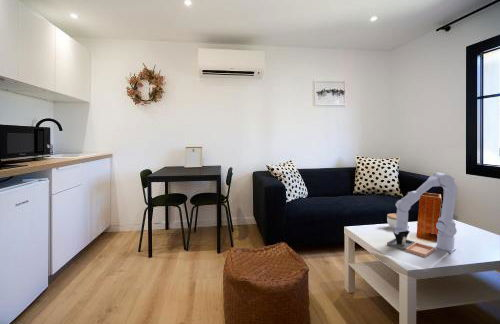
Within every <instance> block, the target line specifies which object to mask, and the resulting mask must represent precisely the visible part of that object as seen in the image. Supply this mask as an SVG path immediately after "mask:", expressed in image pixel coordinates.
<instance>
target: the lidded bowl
mask: <svg viewBox="0 0 500 324" xmlns="http://www.w3.org/2000/svg"><path fill="white" fill-rule="evenodd" d="M386 218H387V219H386V221H387V224H388V226H389V228H391V229H392V230H394V229H395V228H394V226H396V218H397V212H396V213H387V215H386Z"/></svg>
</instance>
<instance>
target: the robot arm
mask: <svg viewBox="0 0 500 324" xmlns="http://www.w3.org/2000/svg"><path fill="white" fill-rule="evenodd" d="M432 187H442V189H444V193H443V198H442V199H443V200H442V205H443V206H442V213H441V217H439V218H438V222H437V223H436V228H437V229H438V233H436V235H437V236H436V238H437V239H436V247H437V248H438V249H439V250H443V251H448V252H447V253H448V254H452V253H453V252H454V251H456V250H457V248H456V247H455V235H456V234H457V231H458V230H457V228H456V222H455V220H454V215H455V207H456V202H457V201H456V200H457V193H458V192H457V191H458V186H457V184H456V182H455V178H454V177H453V176H451V175H450V174H447V173H443V172H439V171H438V172H434V173H433V174H432V175H430V176H428V178H427V180H426V181H424V182H423V183H422V184H421V185H420V186H419V187H418V188H417V189H416V190H412V191H408V192H407V194H406V195H405V196H403V197H402V198H401V199H398V200H397V201H396V202H395V204H394V205H395V207H396V213H397V218H396V226H394V228H395V230H394V229H393V230H394V231H393V235H394V238H396V241H397V244H399V245H401V244H402V240H403V237H404V236H405V237H406V239H407V238H408V235H409V234H410V232H411V231H410V230H409V228H410V226H409V225H408V224H409V211H410V210H411V207H412V206H413V205H414V204H415V203H416V202H418V201H419V200H420V199H421V195H423V194H424V193H426V192H428V191H429V190H430V189H431V188H432Z"/></svg>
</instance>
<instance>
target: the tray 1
mask: <svg viewBox="0 0 500 324" xmlns="http://www.w3.org/2000/svg"><path fill="white" fill-rule="evenodd" d="M415 242H416V241H413V240H409V239H407V238H406V243H405V246H399V245H397V241H396V237H394V238H393V239H391V240H389V241H387V243H386V246H388V247H392V248H395V249H398V250H400V251H404V252H406V248H407V247H409V246H410V245H412V244H414V243H415Z"/></svg>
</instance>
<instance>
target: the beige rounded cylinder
mask: <svg viewBox="0 0 500 324" xmlns="http://www.w3.org/2000/svg"><path fill="white" fill-rule="evenodd" d="M406 239H407V238H406V237H405V236H404V237H403V240H402V244H401V245H399V244H397V245H399V246H405V243H406Z"/></svg>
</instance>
